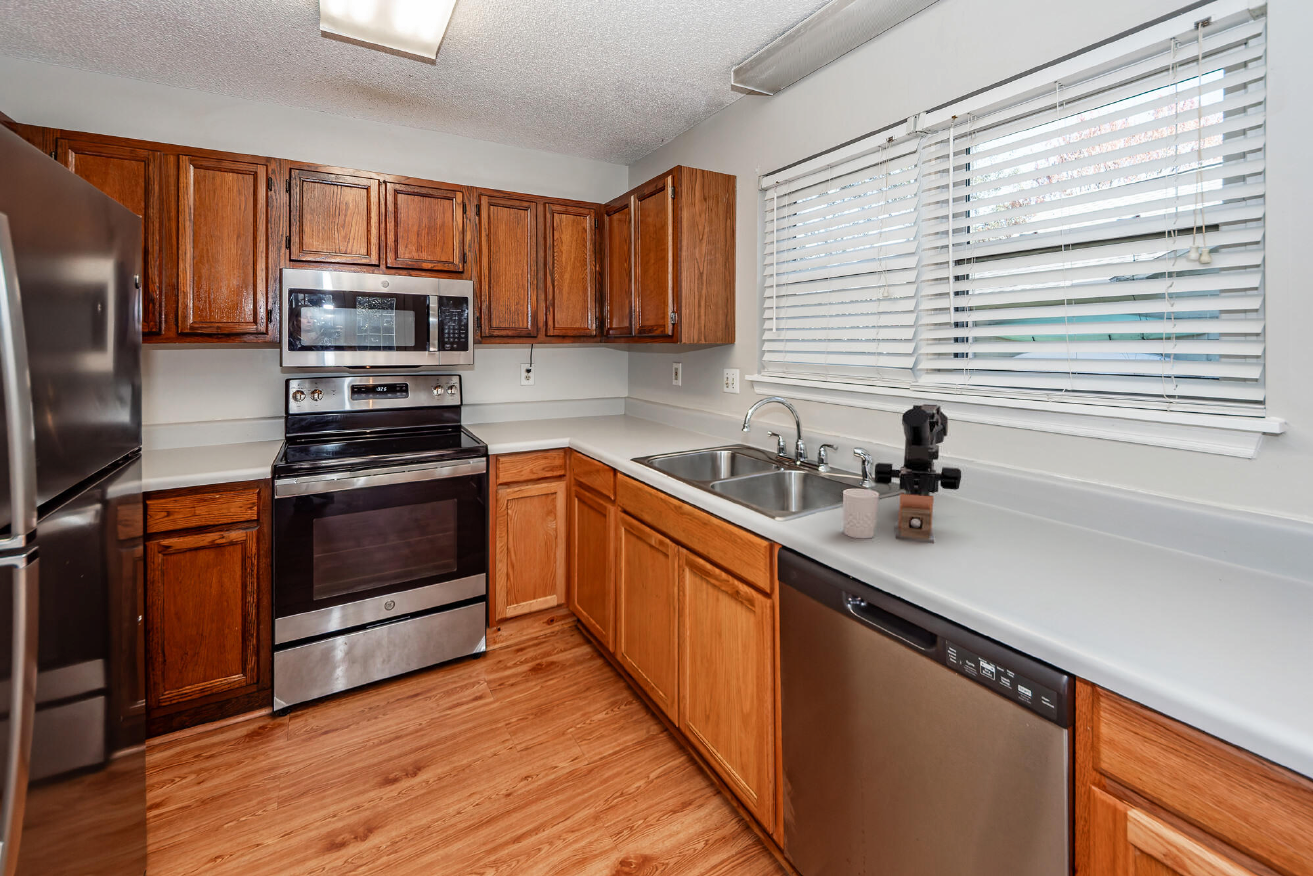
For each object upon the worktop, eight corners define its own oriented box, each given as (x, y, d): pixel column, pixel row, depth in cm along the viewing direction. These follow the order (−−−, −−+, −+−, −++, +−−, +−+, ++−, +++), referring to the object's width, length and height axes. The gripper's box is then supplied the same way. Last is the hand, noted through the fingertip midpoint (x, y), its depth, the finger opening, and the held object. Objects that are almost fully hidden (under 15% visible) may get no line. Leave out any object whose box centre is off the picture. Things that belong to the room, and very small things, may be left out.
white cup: (870, 541, 131) (873, 498, 129) (836, 535, 135) (838, 493, 134) (881, 532, 137) (883, 491, 135) (847, 526, 141) (849, 487, 140)
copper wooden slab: (898, 528, 137) (900, 492, 135) (930, 531, 134) (933, 495, 133) (898, 534, 132) (900, 498, 131) (931, 538, 130) (934, 501, 128)
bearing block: (895, 525, 142) (897, 499, 141) (931, 529, 139) (933, 502, 138) (895, 538, 133) (897, 510, 132) (934, 542, 130) (936, 514, 129)
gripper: (877, 430, 141) (872, 484, 132) (963, 434, 133) (964, 492, 125) (876, 456, 149) (872, 508, 141) (958, 461, 142) (958, 517, 134)
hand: (915, 506), depth 135 cm, fingers closed, pressing on copper wooden slab
